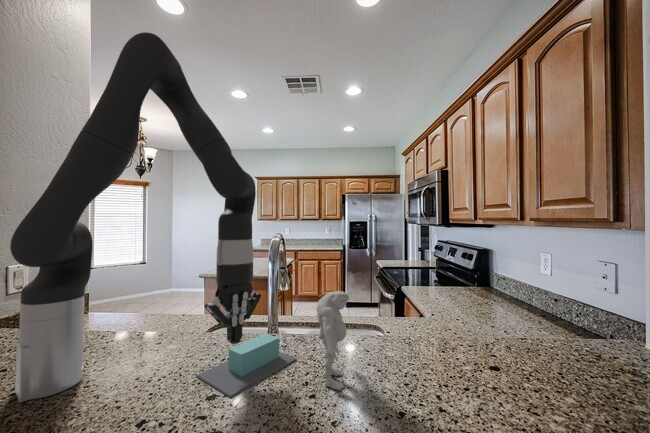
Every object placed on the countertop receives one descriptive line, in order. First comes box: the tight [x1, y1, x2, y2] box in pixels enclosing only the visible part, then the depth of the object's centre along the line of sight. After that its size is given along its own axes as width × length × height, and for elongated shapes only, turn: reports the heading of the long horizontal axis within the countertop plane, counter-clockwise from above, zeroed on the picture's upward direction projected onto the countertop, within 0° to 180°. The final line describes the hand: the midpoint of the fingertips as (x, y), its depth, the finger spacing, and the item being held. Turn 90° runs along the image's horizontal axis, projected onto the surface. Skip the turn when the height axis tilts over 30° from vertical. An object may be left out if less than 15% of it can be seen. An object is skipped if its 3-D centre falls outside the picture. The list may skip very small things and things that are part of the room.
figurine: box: [316, 290, 350, 392], centre depth 57 cm, size 18×7×18 cm, turn 1°
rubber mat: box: [196, 351, 298, 399], centre depth 62 cm, size 18×12×1 cm, turn 143°
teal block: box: [228, 333, 280, 377], centre depth 63 cm, size 4×4×11 cm
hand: (234, 342), depth 59 cm, fingers closed
